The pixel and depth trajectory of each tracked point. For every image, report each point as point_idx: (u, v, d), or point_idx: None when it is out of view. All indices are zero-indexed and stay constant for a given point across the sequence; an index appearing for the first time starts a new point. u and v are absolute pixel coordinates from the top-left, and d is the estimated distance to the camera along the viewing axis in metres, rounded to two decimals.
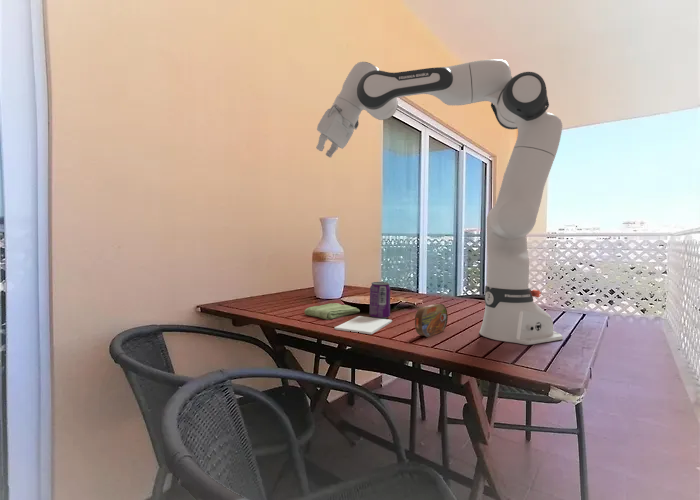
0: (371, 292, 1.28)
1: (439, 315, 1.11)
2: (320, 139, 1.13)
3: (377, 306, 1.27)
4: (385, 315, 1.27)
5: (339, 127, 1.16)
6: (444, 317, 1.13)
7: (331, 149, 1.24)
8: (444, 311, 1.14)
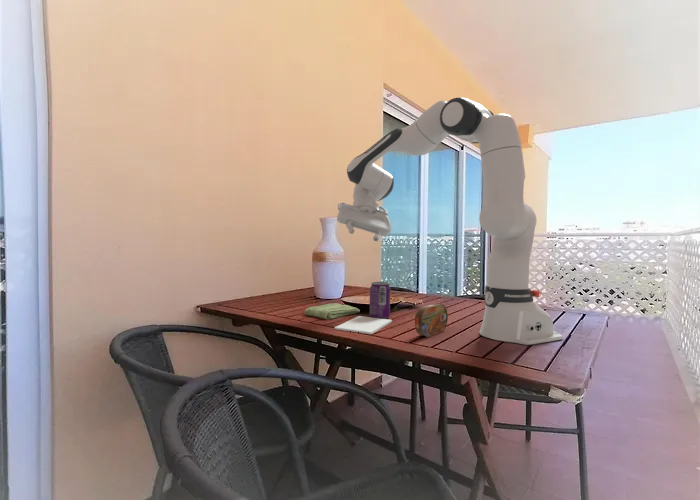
0: (371, 292, 1.28)
1: (439, 315, 1.11)
2: (347, 226, 1.32)
3: (377, 306, 1.27)
4: (385, 315, 1.27)
5: (360, 214, 1.36)
6: (444, 317, 1.13)
7: None
8: (444, 311, 1.14)
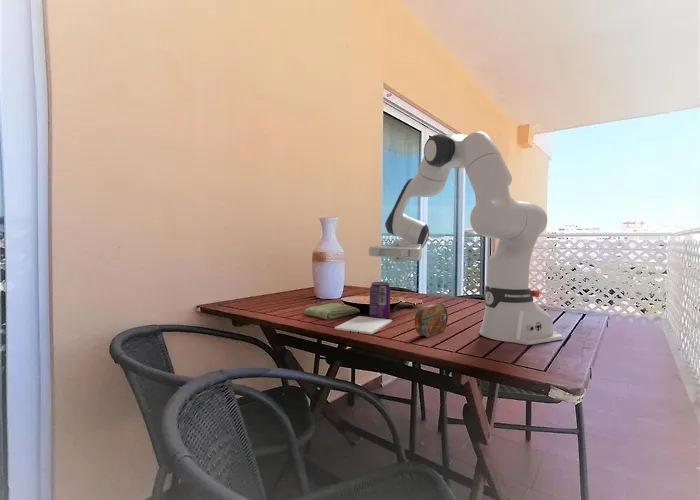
0: (371, 292, 1.28)
1: (439, 315, 1.11)
2: None
3: (377, 306, 1.27)
4: (385, 315, 1.27)
5: None
6: (444, 317, 1.13)
7: None
8: (444, 311, 1.14)
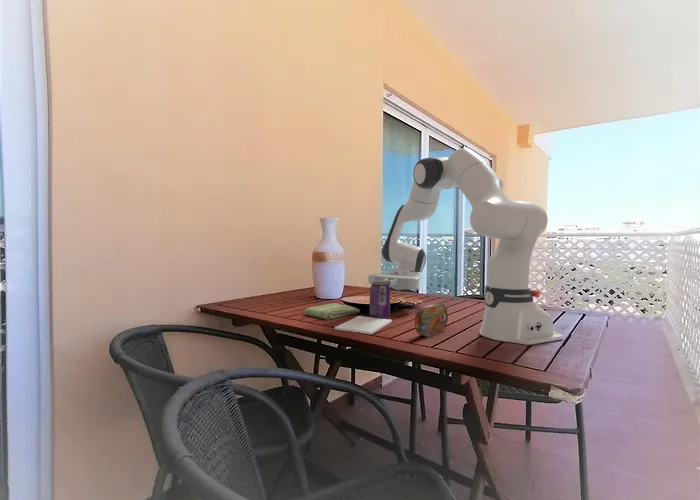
0: (371, 292, 1.28)
1: (439, 315, 1.11)
2: None
3: (377, 306, 1.27)
4: (385, 315, 1.27)
5: (390, 275, 1.46)
6: (444, 317, 1.13)
7: None
8: (444, 311, 1.14)
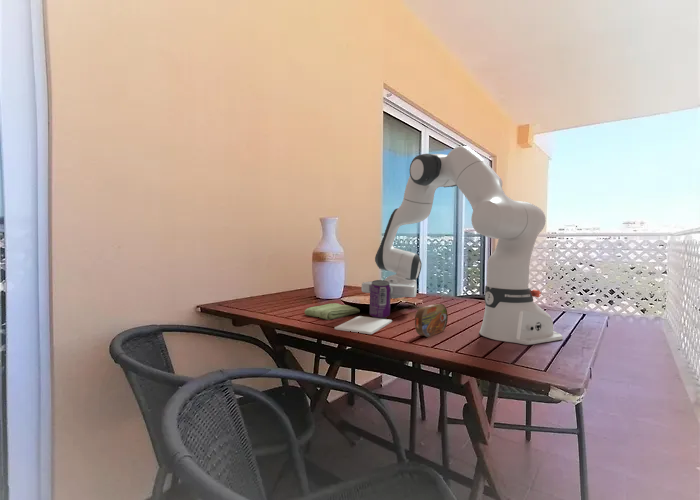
0: (371, 292, 1.27)
1: (439, 315, 1.11)
2: None
3: (377, 307, 1.26)
4: (385, 315, 1.27)
5: None
6: (444, 317, 1.13)
7: None
8: (444, 311, 1.14)
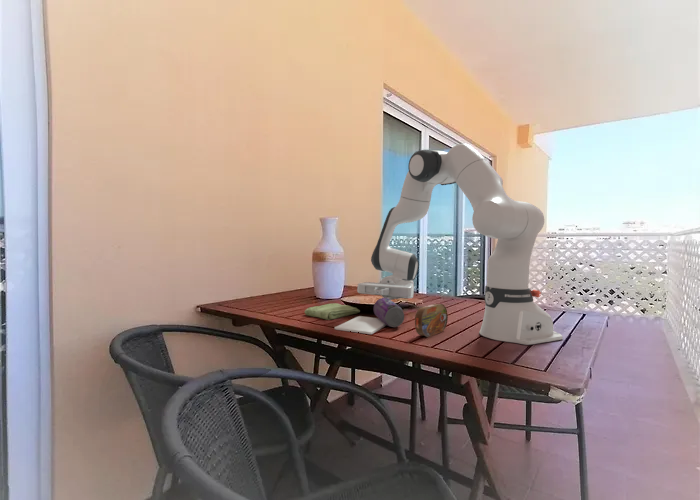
0: (381, 317, 1.17)
1: (439, 315, 1.11)
2: None
3: None
4: None
5: (381, 284, 1.37)
6: (444, 317, 1.13)
7: None
8: (444, 311, 1.14)
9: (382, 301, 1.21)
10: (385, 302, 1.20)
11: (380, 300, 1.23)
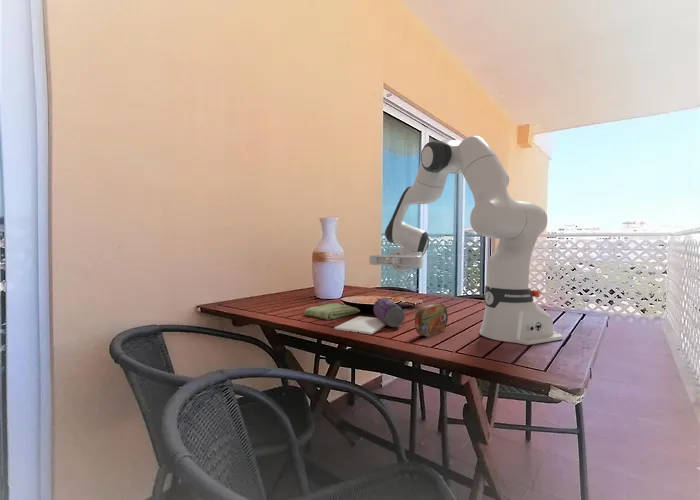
0: (381, 317, 1.17)
1: (439, 315, 1.11)
2: None
3: None
4: None
5: (392, 256, 1.46)
6: (444, 317, 1.13)
7: None
8: (444, 311, 1.14)
9: (381, 302, 1.21)
10: (385, 302, 1.20)
11: (380, 300, 1.23)
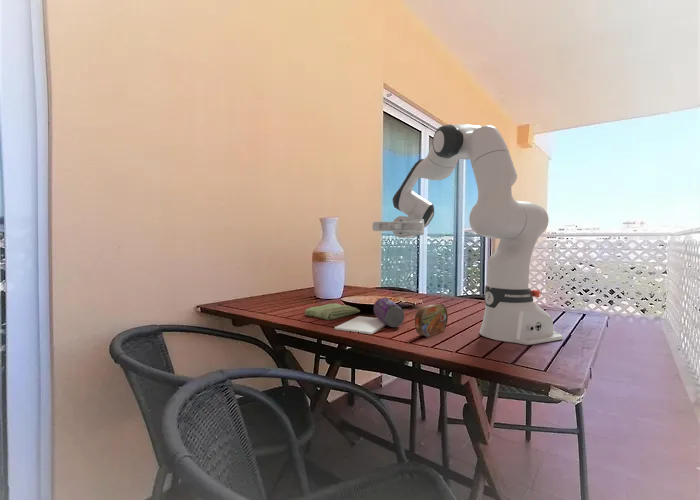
0: (381, 317, 1.17)
1: (439, 315, 1.11)
2: None
3: None
4: None
5: None
6: (444, 317, 1.13)
7: None
8: (444, 311, 1.14)
9: (381, 301, 1.21)
10: (385, 302, 1.20)
11: (380, 300, 1.23)
